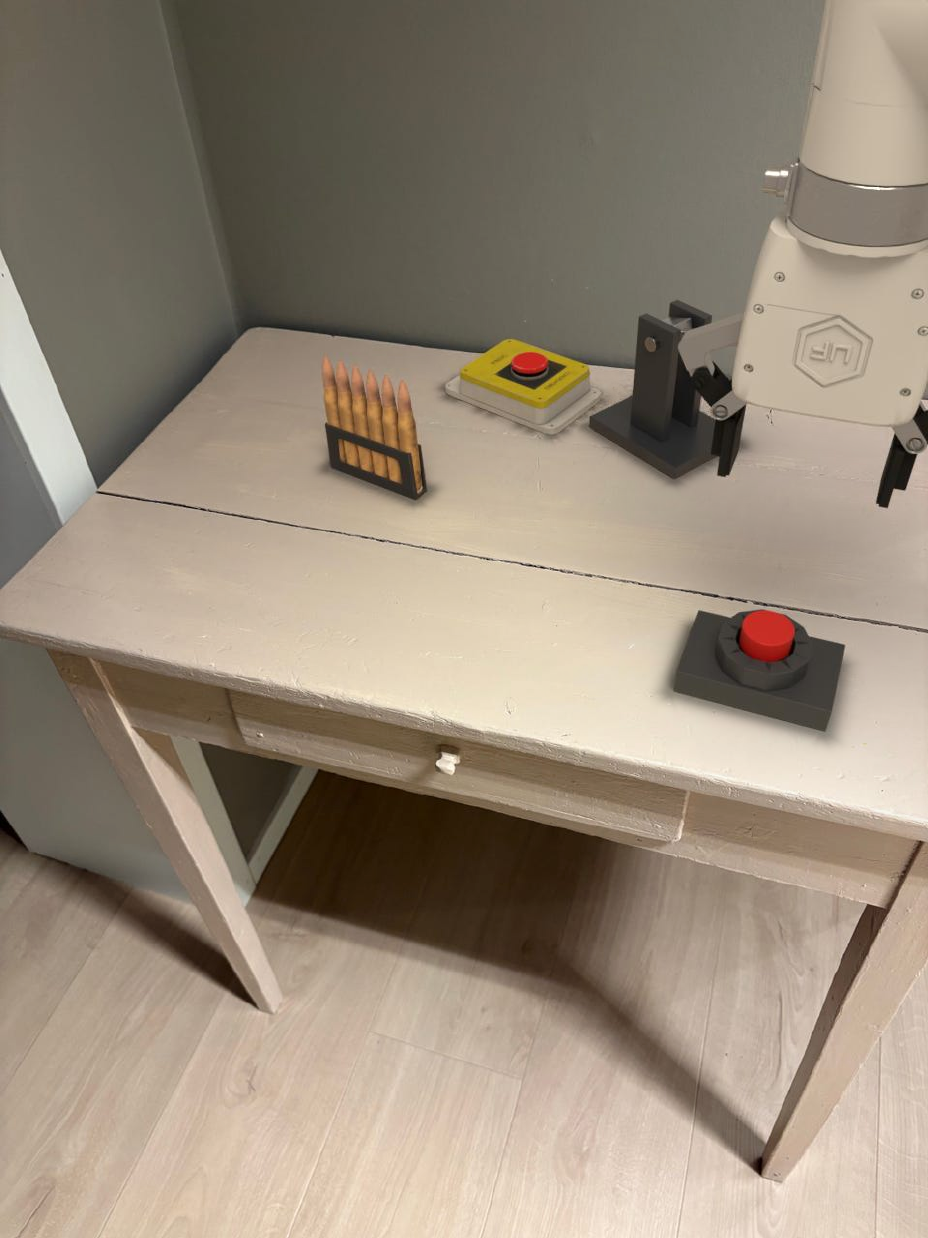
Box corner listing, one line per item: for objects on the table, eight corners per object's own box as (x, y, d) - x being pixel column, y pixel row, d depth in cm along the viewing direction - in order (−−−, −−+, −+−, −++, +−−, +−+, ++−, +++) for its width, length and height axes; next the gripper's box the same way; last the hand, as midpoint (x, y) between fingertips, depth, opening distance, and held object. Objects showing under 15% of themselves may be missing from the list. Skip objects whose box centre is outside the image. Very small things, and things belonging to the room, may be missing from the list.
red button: (794, 634, 70) (798, 617, 69) (785, 667, 68) (790, 650, 67) (744, 622, 72) (748, 605, 70) (734, 655, 69) (738, 638, 68)
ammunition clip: (330, 467, 95) (310, 357, 87) (342, 457, 96) (323, 348, 88) (416, 500, 91) (404, 387, 82) (427, 490, 92) (417, 378, 83)
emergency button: (553, 398, 94) (438, 355, 101) (553, 436, 97) (441, 391, 104) (607, 359, 99) (493, 320, 106) (604, 396, 102) (494, 356, 109)
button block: (839, 664, 73) (851, 627, 70) (825, 731, 68) (837, 694, 66) (695, 629, 76) (701, 592, 74) (673, 691, 72) (678, 654, 69)
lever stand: (739, 443, 94) (760, 322, 86) (674, 479, 91) (689, 356, 82) (652, 395, 102) (663, 279, 93) (588, 426, 98) (593, 308, 89)
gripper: (679, 208, 48) (651, 486, 60) (1062, 248, 43) (948, 545, 55) (713, 157, 53) (681, 424, 65) (1061, 187, 48) (957, 472, 60)
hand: (803, 479), depth 60 cm, fingers open, 9 cm apart
